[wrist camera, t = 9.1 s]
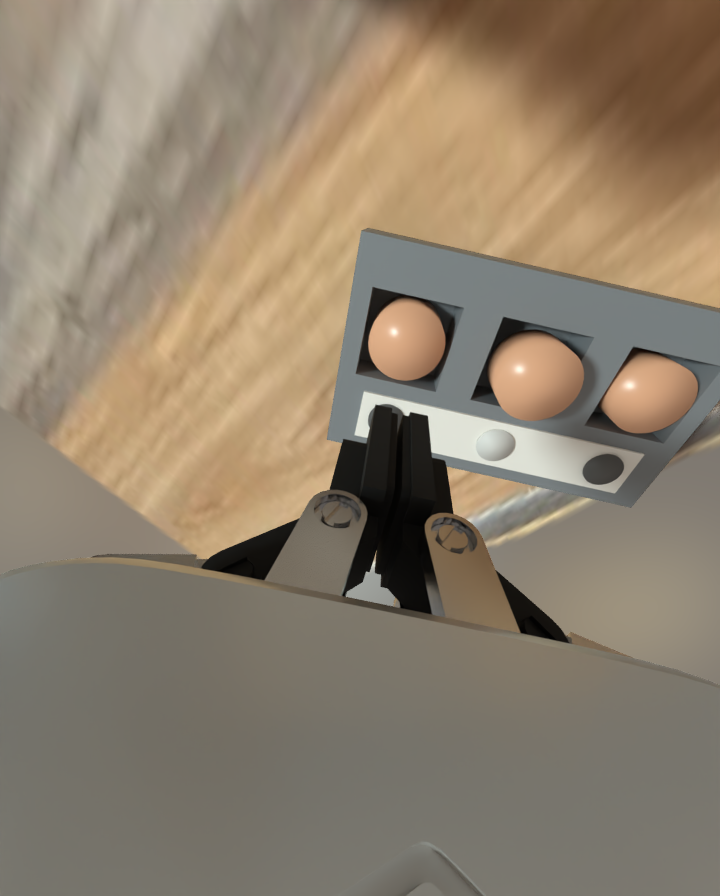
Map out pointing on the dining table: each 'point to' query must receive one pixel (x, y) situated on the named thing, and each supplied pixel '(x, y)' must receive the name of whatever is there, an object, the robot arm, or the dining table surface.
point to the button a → (406, 338)
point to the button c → (648, 392)
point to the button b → (534, 375)
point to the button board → (484, 327)
